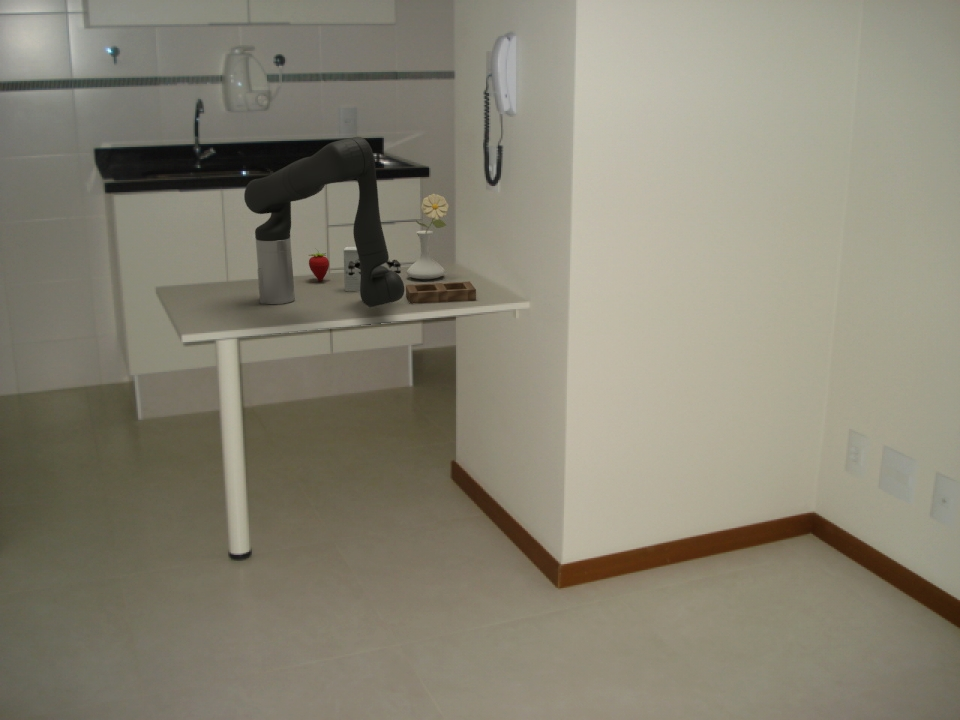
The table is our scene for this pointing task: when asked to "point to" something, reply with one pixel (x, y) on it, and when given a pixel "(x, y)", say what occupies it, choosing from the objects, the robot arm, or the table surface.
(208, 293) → the table surface
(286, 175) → the robot arm
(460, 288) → the wooden box
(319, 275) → the strawberry
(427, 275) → the flower in vase
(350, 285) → the skincare box
